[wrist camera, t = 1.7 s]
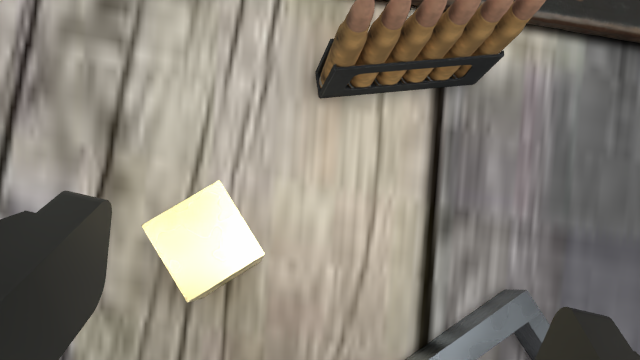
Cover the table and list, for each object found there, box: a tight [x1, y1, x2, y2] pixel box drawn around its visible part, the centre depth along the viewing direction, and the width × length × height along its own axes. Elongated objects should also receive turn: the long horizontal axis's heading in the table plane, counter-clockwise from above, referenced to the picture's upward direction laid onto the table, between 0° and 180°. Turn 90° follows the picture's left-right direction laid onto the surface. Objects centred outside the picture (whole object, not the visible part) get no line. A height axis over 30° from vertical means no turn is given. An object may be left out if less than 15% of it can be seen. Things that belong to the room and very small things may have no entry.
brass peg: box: [142, 180, 265, 302], centre depth 31 cm, size 4×4×9 cm
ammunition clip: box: [316, 0, 546, 98], centre depth 33 cm, size 11×2×12 cm, turn 98°
